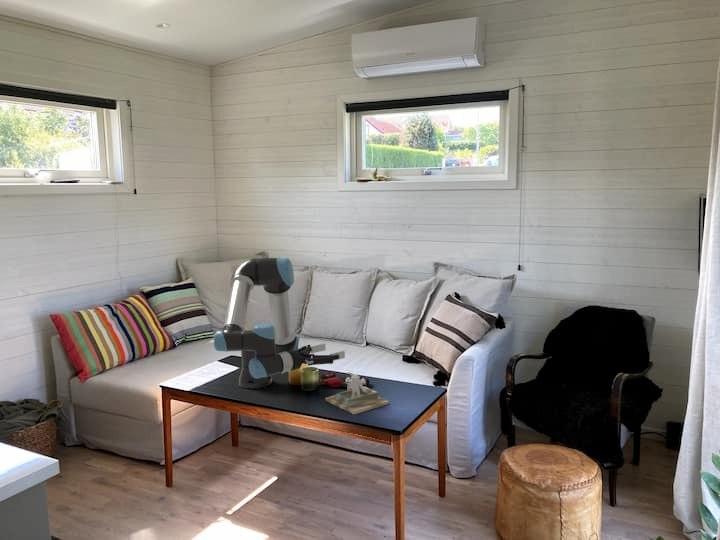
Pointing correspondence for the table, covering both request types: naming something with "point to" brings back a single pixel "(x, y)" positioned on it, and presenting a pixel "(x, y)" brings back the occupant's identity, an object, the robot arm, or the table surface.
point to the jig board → (357, 400)
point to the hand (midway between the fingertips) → (334, 350)
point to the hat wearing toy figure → (355, 384)
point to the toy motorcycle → (337, 380)
